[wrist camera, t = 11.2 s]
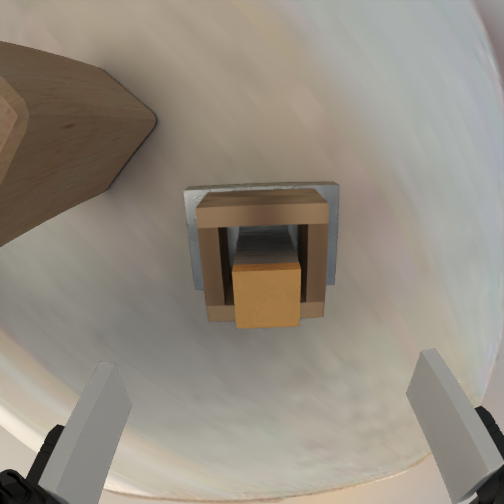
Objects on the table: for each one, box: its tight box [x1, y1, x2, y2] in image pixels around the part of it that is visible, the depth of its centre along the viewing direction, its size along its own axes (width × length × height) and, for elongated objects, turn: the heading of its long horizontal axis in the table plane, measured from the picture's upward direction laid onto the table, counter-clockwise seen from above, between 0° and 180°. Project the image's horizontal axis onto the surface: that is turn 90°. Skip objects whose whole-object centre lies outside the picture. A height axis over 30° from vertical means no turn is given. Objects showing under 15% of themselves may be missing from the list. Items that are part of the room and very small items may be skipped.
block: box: [0, 41, 156, 247], centre depth 18 cm, size 10×10×20 cm
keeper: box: [184, 182, 339, 328], centre depth 25 cm, size 14×10×13 cm
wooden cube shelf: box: [195, 188, 329, 321], centre depth 26 cm, size 10×10×6 cm
